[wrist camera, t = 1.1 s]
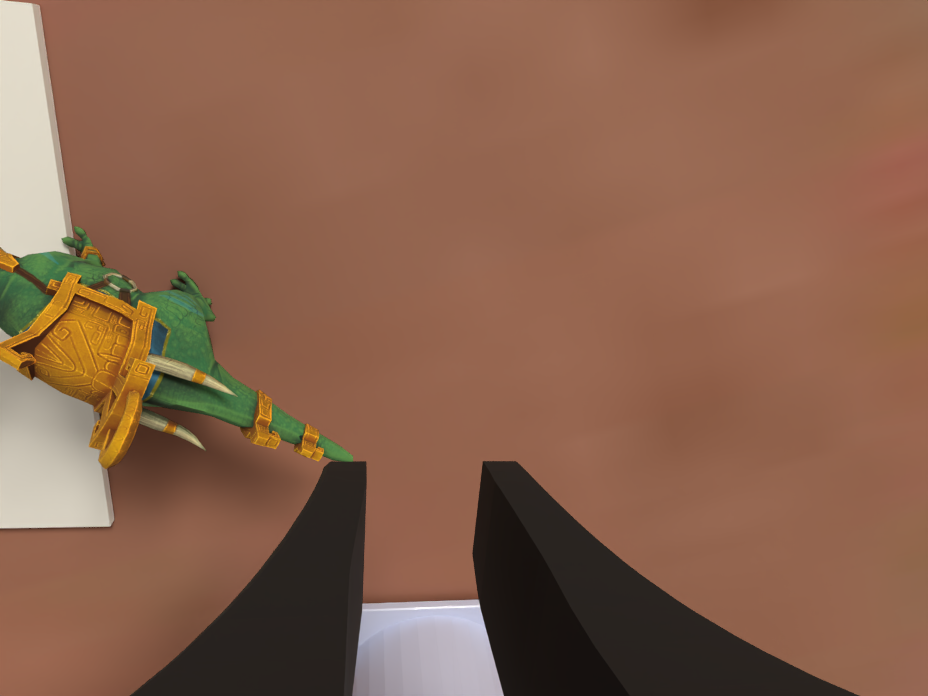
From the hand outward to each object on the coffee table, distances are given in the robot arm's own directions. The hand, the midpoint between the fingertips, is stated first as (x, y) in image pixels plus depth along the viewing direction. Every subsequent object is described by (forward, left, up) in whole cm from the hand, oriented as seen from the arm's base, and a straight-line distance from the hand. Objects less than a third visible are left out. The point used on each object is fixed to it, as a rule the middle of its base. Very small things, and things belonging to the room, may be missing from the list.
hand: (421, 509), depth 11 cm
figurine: (0, +7, -10) cm, 13 cm away
